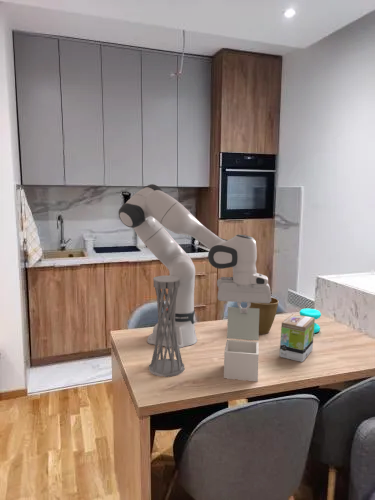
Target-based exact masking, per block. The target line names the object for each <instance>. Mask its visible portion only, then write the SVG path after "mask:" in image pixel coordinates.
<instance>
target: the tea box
mask: <svg viewBox="0 0 375 500" xmlns="http://www.w3.org/2000/svg"><path fill="white" fill-rule="evenodd" d="M315 320H316V319H315V318H313V317H307V316H301V315H300V314H295V313H292V314H291V315H290V316H288V317H287V318H286V319H284V320H283V321H282V322H281V327H280V328H281V329H280V343H279V357H281V358H284V359H287V360H292V361H296V362H302V363H303V362H304V361H305V359H306V358H307V357H308V356H309V355H310V354H311V352H312V351H313V347H314V334H315V333H314V323H315Z"/></svg>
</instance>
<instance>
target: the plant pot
mask: <svg viewBox="0 0 375 500" xmlns="http://www.w3.org/2000/svg"><path fill="white" fill-rule="evenodd" d="M278 306H279V300H278V299H277V298H275V297H273V296H271V302H270V303H251V306H250V307H249V308H258V309H259V335H266V334H269V333H270V332H271V331H270V330H271V329H272V326H273V323H274V322H275V318H276V314H277V311H278Z"/></svg>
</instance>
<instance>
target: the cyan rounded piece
mask: <svg viewBox="0 0 375 500" xmlns="http://www.w3.org/2000/svg"><path fill="white" fill-rule="evenodd" d="M299 315H301V316H307V317H313V318H315V320H318V319H320V318H321V317H322V313H321V312H320V310H317V309H314V308H301V309H300V310H299ZM319 332H321V326H320V325H319V324H318V323H316V322H314V334H316V333H319Z"/></svg>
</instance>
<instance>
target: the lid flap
mask: <svg viewBox="0 0 375 500" xmlns="http://www.w3.org/2000/svg"><path fill="white" fill-rule="evenodd" d="M226 328H227V329H226V339H229V340H243V341H257V342H259V336H260V334H259V309H258V308H249V309H248V314H246V313H240V309H239V307H238V306H236V307H235V306H227V324H226Z"/></svg>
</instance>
